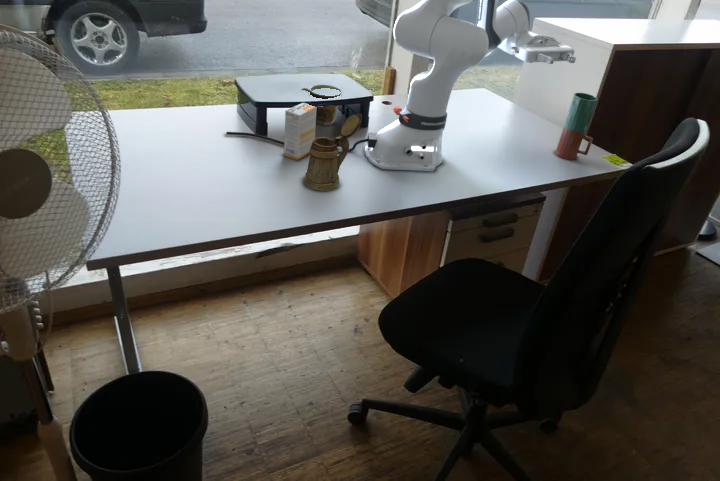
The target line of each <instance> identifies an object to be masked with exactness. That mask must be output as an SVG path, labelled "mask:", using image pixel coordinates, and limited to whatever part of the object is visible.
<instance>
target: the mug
mask: <svg viewBox="0 0 720 481" xmlns="http://www.w3.org/2000/svg"><path fill="white" fill-rule="evenodd" d="M585 134H586V132H583V133H578V132H573V131H570V130H568V129H566V128H565V127H564V126H563V128H562V131H561V134H560V137H559V139H558V143H557V146H556V149H555V152H554V153H555V155H556V156H557V157H559V158H561V159H564V160H570V161H571V160H576V159H577V156H578V154H579V155H584V156H587V155H588V154H589V151H590V148H591V146H592V143H593V140H594V138H593V137H592V136H588V135H585ZM583 139H584V140H588V143H587V145H586V147H585V151H583V150H580V147H581V145H582V142H583Z"/></svg>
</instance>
